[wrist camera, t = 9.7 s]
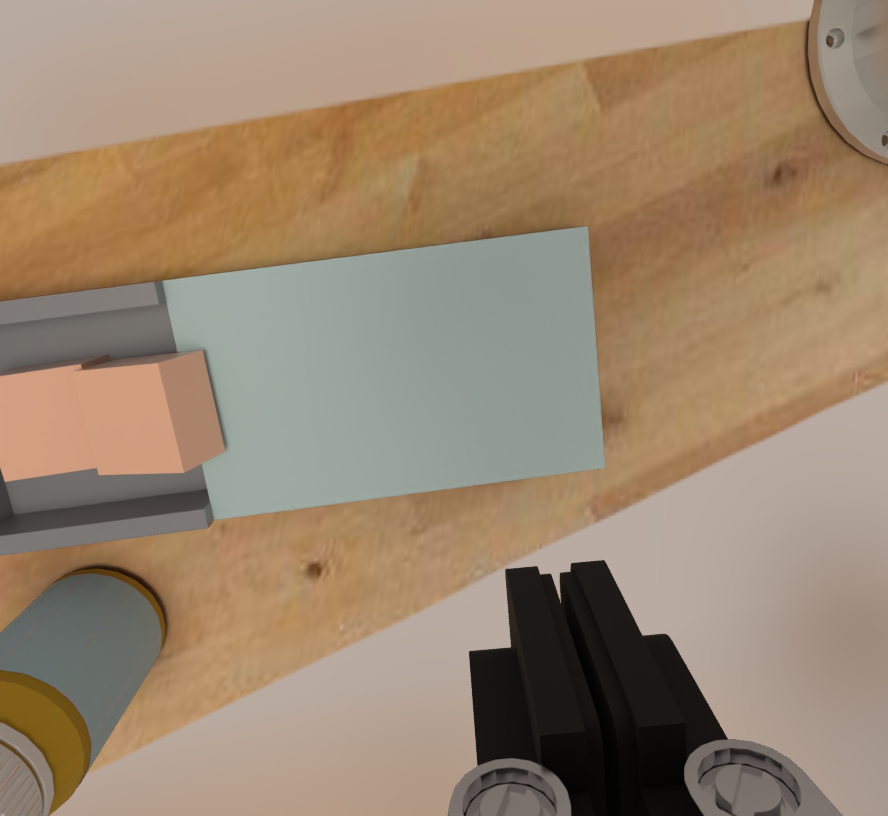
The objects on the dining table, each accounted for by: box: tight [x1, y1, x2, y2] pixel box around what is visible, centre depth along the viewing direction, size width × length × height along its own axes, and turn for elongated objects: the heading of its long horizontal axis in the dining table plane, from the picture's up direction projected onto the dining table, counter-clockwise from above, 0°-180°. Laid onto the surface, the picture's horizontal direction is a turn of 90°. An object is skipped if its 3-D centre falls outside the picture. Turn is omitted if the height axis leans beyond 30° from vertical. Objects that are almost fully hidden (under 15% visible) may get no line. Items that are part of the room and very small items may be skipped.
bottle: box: [0, 569, 166, 816], centre depth 31 cm, size 7×7×15 cm
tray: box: [0, 279, 214, 556], centre depth 34 cm, size 12×12×4 cm
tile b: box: [0, 354, 110, 482], centre depth 34 cm, size 5×5×3 cm
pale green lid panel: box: [162, 226, 605, 520], centre depth 35 cm, size 20×12×2 cm, turn 97°
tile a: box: [71, 350, 225, 475], centre depth 32 cm, size 5×5×3 cm
